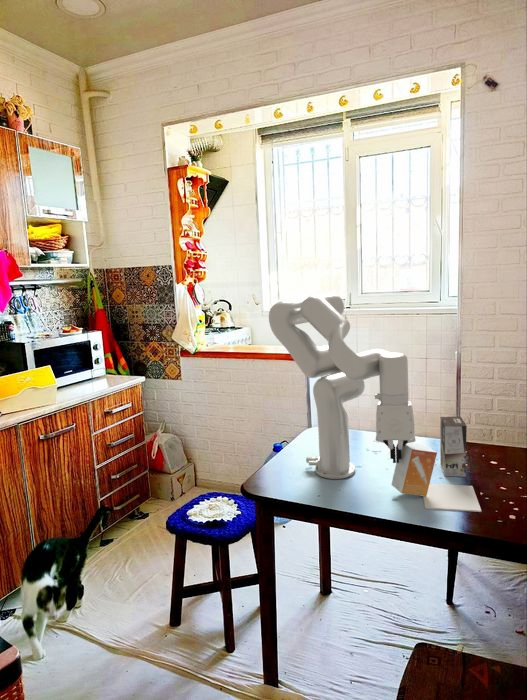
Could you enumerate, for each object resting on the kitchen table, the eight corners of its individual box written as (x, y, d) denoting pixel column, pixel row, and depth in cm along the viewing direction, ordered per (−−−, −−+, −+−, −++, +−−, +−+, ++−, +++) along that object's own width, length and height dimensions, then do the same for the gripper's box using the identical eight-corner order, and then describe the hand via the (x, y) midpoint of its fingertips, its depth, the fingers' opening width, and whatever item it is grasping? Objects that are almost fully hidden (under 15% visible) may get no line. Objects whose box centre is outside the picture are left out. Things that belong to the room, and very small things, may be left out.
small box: (401, 494, 137) (411, 449, 135) (390, 484, 143) (400, 441, 141) (427, 496, 139) (437, 452, 137) (415, 487, 145) (425, 444, 143)
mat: (425, 508, 133) (425, 507, 133) (421, 484, 147) (421, 483, 146) (481, 512, 130) (481, 510, 130) (472, 487, 143) (472, 485, 143)
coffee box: (466, 477, 150) (467, 426, 146) (444, 476, 151) (444, 425, 148) (461, 464, 158) (461, 415, 155) (439, 463, 160) (439, 415, 157)
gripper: (365, 402, 134) (368, 465, 138) (423, 402, 131) (424, 467, 134) (366, 394, 142) (369, 455, 145) (422, 394, 138) (423, 456, 141)
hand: (396, 461), depth 139 cm, fingers closed
